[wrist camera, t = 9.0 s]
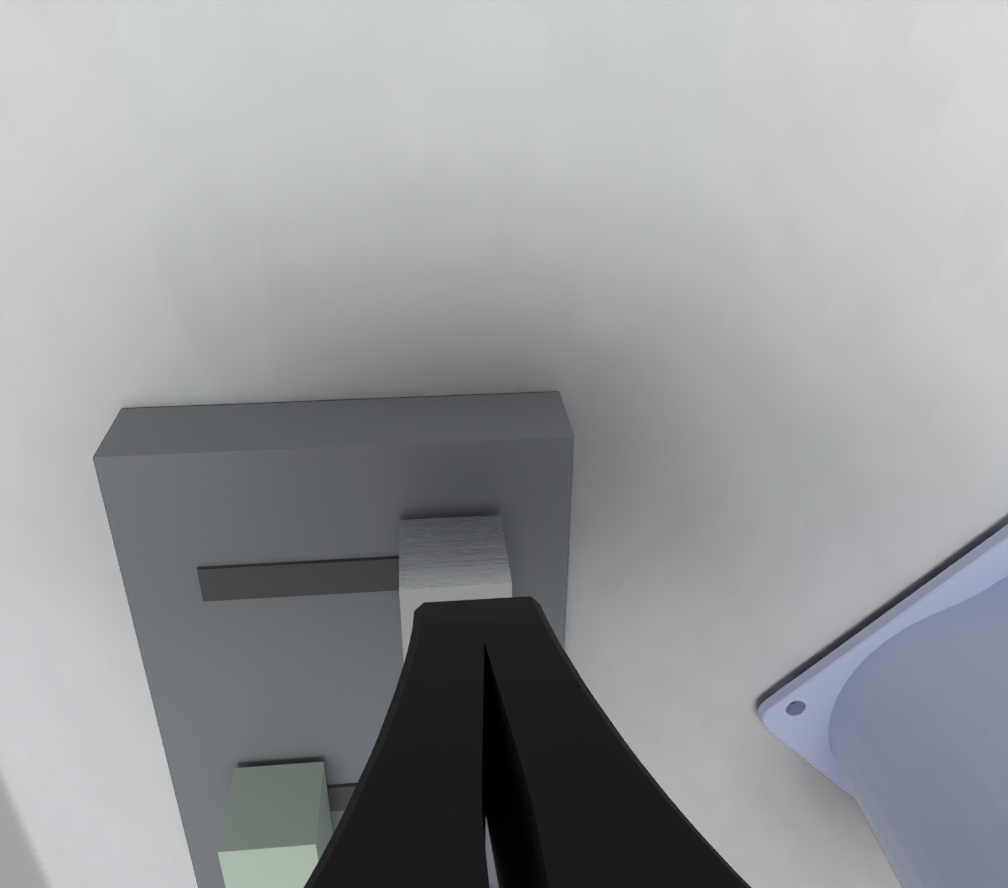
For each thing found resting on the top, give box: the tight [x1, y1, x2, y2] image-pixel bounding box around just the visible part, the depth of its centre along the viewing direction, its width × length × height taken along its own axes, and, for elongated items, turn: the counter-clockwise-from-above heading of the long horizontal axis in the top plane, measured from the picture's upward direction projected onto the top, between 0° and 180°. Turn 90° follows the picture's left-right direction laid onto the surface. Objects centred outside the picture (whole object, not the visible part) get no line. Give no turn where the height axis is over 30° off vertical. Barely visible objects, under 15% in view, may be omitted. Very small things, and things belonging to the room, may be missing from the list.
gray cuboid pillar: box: [399, 515, 512, 661], centre depth 18 cm, size 3×2×2 cm
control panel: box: [93, 392, 574, 888], centre depth 22 cm, size 19×9×4 cm, turn 0°
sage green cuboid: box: [218, 762, 333, 888], centre depth 21 cm, size 3×2×2 cm
